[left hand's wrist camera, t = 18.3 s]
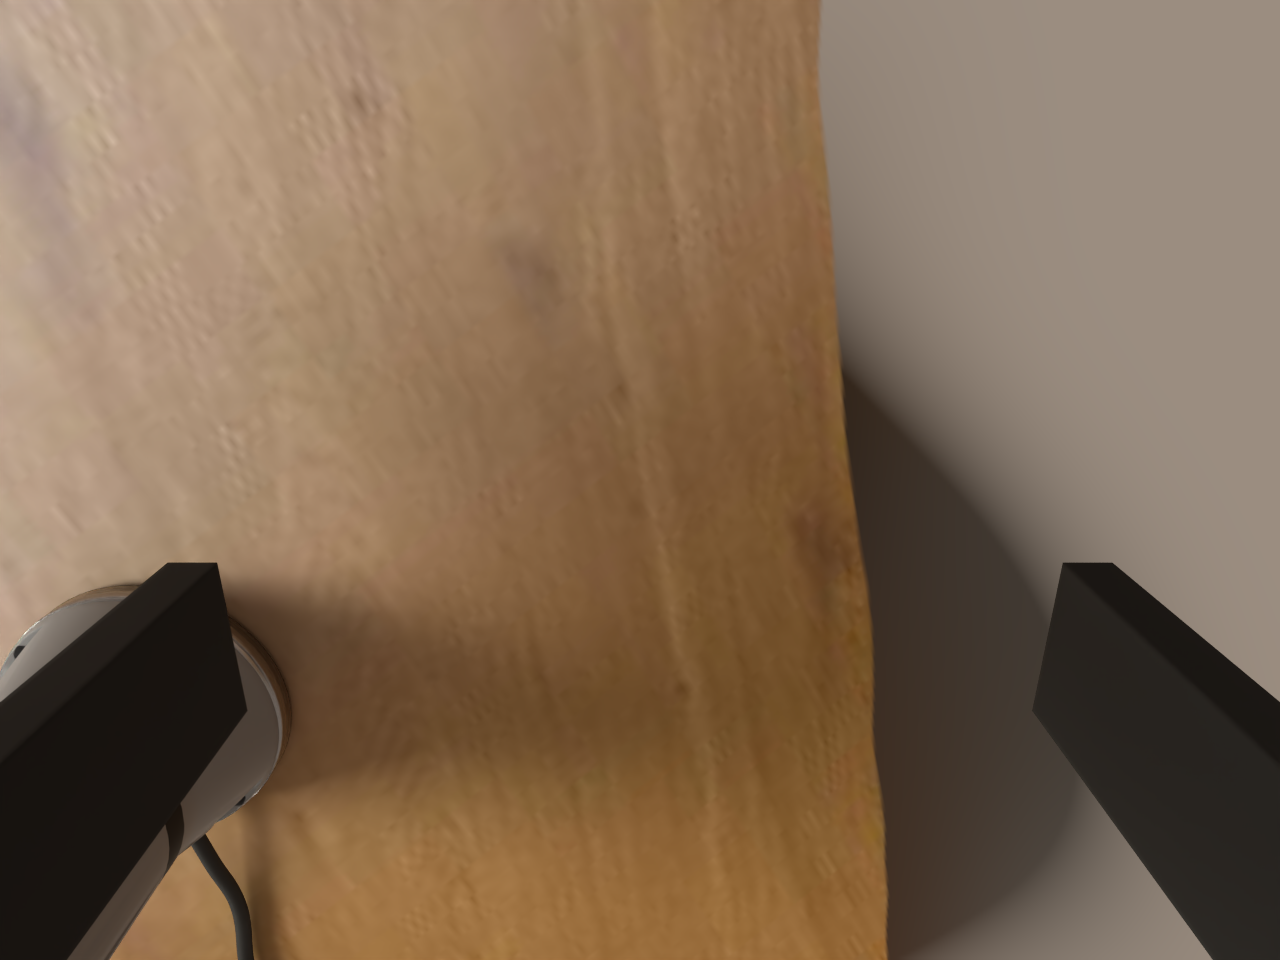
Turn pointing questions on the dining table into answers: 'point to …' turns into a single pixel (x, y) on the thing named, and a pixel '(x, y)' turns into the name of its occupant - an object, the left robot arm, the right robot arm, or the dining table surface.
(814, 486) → the dining table surface
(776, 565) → the dining table surface
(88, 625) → the left robot arm
